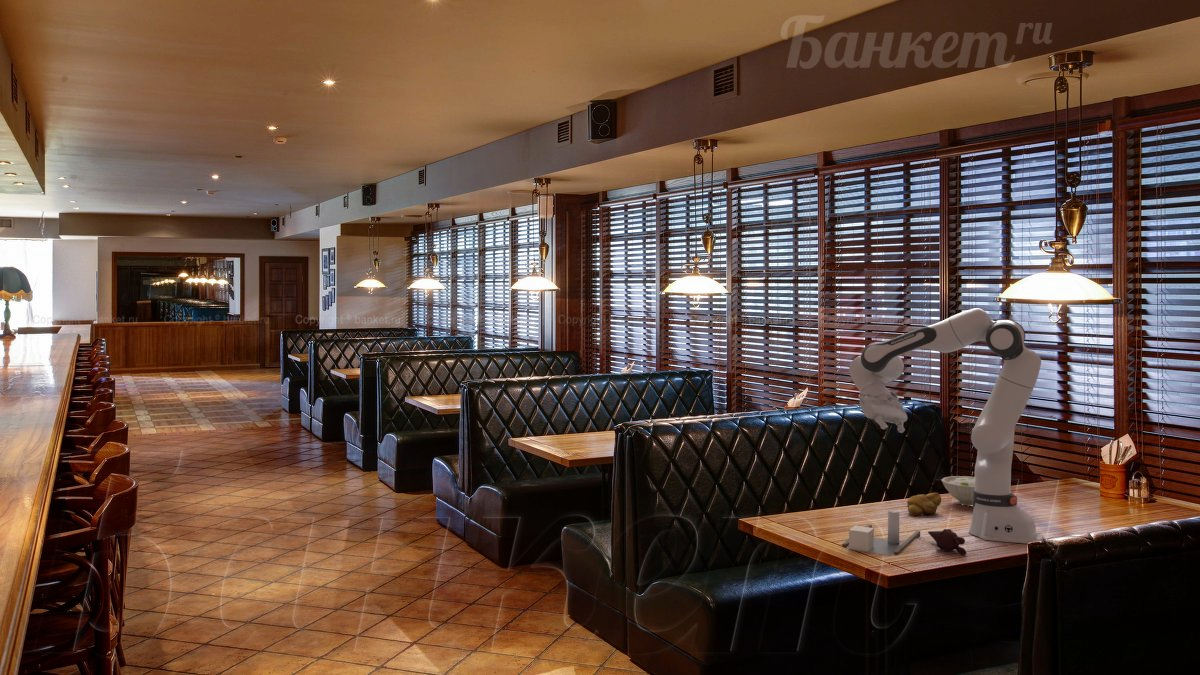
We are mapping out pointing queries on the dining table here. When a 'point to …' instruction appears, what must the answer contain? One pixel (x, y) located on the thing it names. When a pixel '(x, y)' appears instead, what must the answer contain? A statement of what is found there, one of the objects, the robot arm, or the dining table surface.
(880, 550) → the board
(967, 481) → the bowl
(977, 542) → the dining table surface
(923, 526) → the dining table surface
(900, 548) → the rails
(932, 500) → the bread roll
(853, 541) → the block
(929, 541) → the dining table surface
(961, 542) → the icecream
